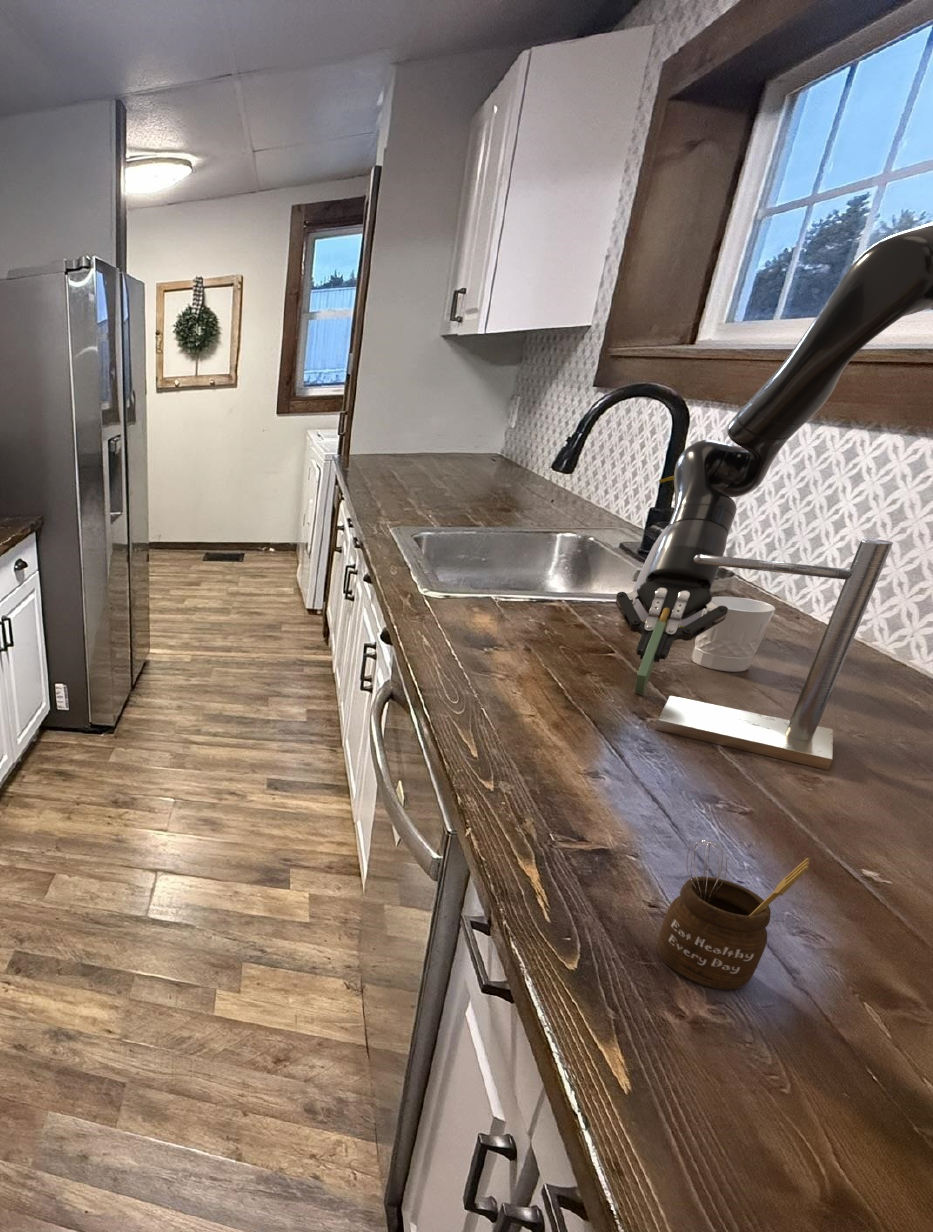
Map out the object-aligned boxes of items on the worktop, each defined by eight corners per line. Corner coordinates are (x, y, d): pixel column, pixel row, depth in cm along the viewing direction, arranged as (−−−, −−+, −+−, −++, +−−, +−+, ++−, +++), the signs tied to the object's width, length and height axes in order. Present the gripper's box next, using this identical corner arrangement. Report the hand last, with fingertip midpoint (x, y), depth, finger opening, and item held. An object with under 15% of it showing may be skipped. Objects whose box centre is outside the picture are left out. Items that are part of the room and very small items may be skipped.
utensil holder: (660, 927, 63) (701, 812, 58) (758, 965, 58) (811, 844, 54) (646, 964, 59) (689, 844, 54) (750, 1008, 55) (806, 882, 50)
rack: (639, 726, 96) (698, 534, 86) (652, 701, 102) (708, 520, 92) (828, 770, 84) (921, 553, 74) (829, 739, 90) (915, 536, 81)
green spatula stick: (636, 674, 101) (663, 603, 103) (634, 692, 105) (660, 624, 107) (645, 676, 100) (672, 605, 102) (643, 694, 105) (668, 625, 107)
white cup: (758, 677, 108) (781, 614, 104) (690, 668, 112) (710, 607, 108) (747, 659, 114) (768, 600, 110) (683, 651, 118) (701, 593, 114)
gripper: (631, 538, 108) (593, 636, 105) (753, 550, 99) (715, 657, 96) (629, 565, 113) (592, 659, 110) (744, 578, 104) (708, 681, 101)
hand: (650, 658), depth 103 cm, fingers closed
